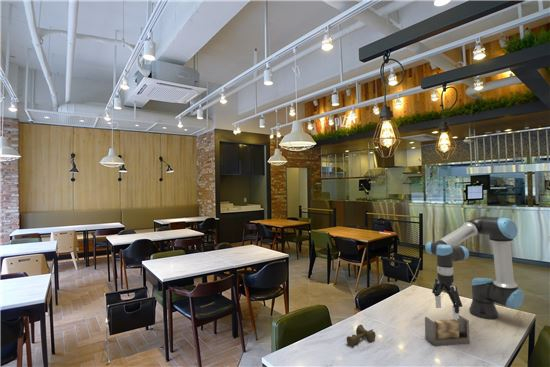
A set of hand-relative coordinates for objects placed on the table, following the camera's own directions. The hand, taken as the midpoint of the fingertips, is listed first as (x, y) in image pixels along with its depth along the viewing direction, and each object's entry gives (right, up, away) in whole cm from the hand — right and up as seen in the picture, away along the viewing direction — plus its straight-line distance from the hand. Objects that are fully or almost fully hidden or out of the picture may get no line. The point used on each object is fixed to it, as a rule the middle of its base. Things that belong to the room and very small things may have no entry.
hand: (446, 313), depth 156 cm
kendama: (-46, -16, +2) cm, 49 cm away
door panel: (0, -14, 0) cm, 14 cm away
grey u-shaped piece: (0, -15, 0) cm, 15 cm away
